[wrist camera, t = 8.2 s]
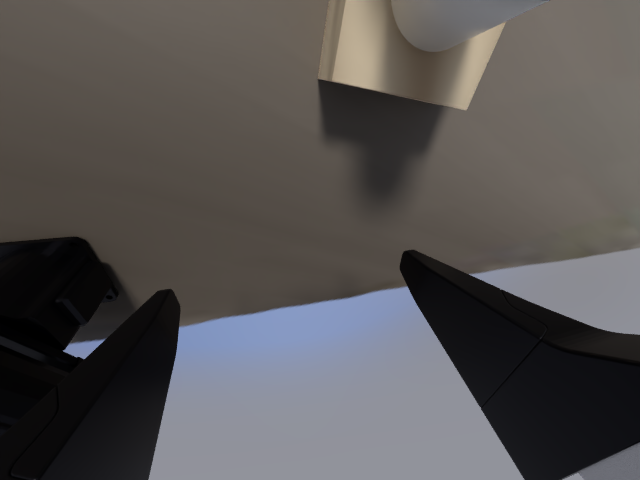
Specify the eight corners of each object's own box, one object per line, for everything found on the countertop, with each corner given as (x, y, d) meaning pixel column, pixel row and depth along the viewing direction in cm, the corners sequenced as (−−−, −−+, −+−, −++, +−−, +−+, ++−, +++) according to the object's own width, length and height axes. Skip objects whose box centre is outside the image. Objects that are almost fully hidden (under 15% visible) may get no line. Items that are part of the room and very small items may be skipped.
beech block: (316, 78, 16) (332, 80, 13) (349, -151, 11) (386, -237, 8) (430, 103, 19) (466, 110, 15) (496, -76, 14) (568, -120, 11)
